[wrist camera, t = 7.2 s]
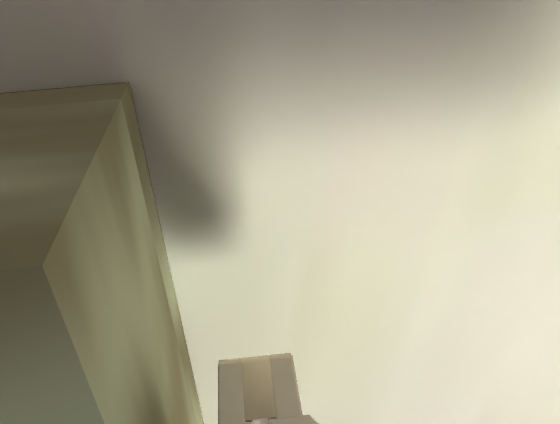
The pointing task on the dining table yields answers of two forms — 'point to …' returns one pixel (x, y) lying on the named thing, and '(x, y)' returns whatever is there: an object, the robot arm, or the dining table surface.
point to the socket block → (85, 268)
